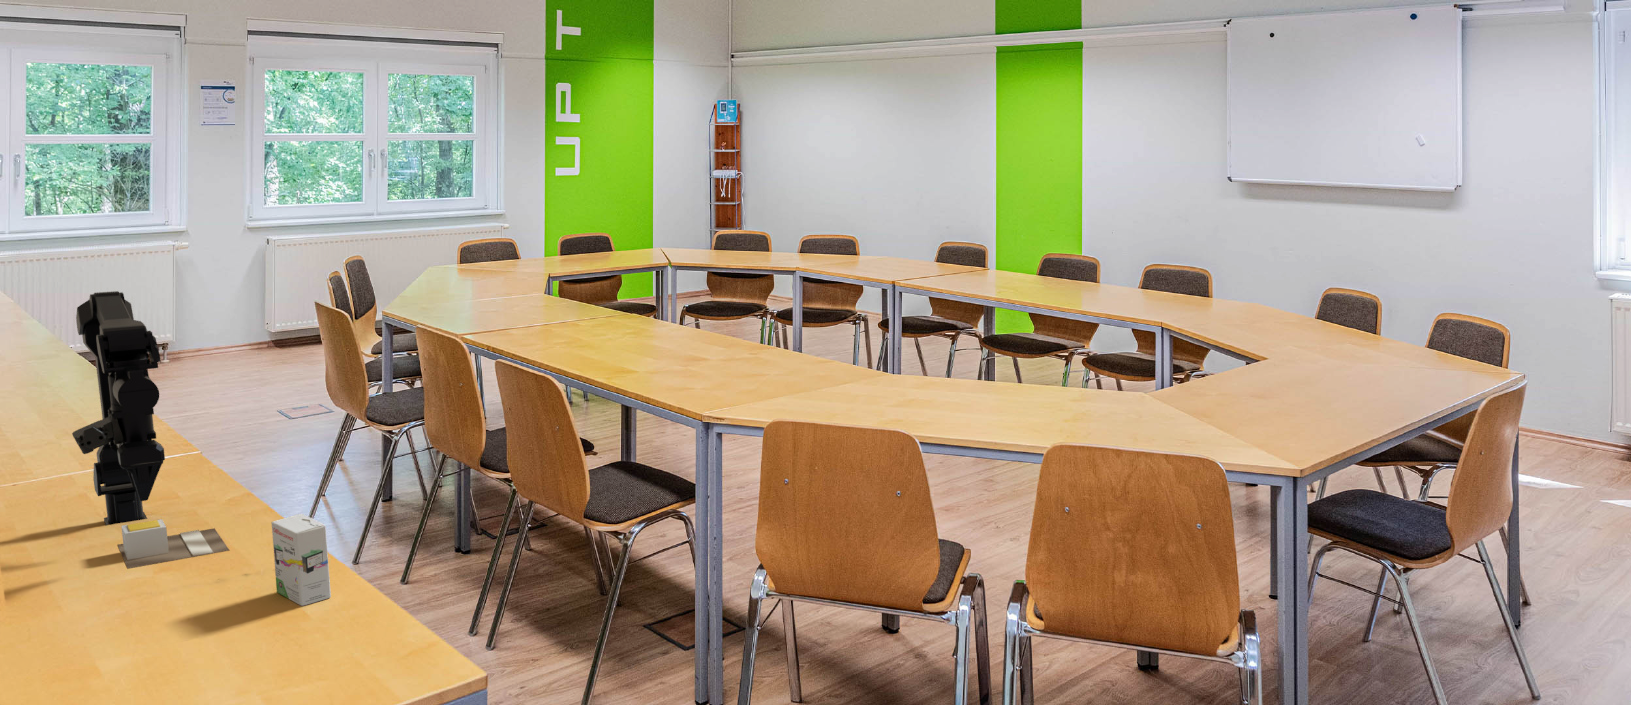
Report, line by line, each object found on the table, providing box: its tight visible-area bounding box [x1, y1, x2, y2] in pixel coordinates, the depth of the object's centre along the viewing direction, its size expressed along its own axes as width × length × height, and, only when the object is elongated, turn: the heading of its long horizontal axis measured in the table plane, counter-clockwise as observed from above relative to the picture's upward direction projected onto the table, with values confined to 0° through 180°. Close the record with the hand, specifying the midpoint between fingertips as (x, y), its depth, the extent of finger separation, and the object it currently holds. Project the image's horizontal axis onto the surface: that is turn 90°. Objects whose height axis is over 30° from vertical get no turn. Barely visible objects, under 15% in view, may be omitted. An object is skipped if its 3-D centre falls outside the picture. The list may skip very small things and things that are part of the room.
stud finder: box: [121, 518, 169, 560], centre depth 199 cm, size 5×6×5 cm
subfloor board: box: [117, 527, 230, 570], centre depth 202 cm, size 14×15×1 cm
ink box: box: [271, 513, 332, 607], centre depth 183 cm, size 8×5×12 cm, turn 49°
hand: (140, 493), depth 198 cm, fingers open, 9 cm apart
